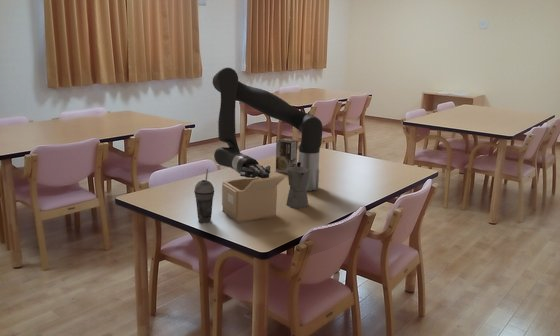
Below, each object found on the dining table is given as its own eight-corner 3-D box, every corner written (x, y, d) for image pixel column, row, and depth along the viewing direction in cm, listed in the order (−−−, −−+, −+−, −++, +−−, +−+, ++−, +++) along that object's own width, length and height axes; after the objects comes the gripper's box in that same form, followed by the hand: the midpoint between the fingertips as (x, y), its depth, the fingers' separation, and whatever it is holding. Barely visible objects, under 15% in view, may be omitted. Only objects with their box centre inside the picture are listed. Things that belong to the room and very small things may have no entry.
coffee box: (296, 171, 257) (298, 140, 253) (290, 174, 252) (291, 142, 247) (281, 168, 262) (282, 138, 257) (275, 171, 256) (275, 140, 252)
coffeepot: (312, 209, 202) (315, 166, 198) (290, 210, 200) (291, 166, 195) (302, 197, 217) (304, 156, 212) (281, 198, 215) (282, 157, 210)
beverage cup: (195, 217, 190) (194, 166, 184) (214, 217, 190) (214, 166, 185) (193, 224, 182) (193, 171, 177) (214, 224, 183) (213, 171, 178)
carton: (219, 210, 197) (219, 181, 194) (259, 204, 206) (260, 176, 203) (236, 223, 185) (236, 192, 182) (278, 215, 194) (278, 185, 191)
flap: (243, 190, 182) (252, 179, 175) (274, 185, 189) (284, 175, 182) (244, 191, 182) (253, 181, 175) (275, 187, 189) (285, 177, 182)
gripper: (229, 157, 189) (250, 168, 175) (260, 154, 196) (283, 164, 181) (229, 176, 191) (250, 189, 177) (260, 173, 197) (282, 185, 183)
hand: (266, 177), depth 179 cm, fingers closed
